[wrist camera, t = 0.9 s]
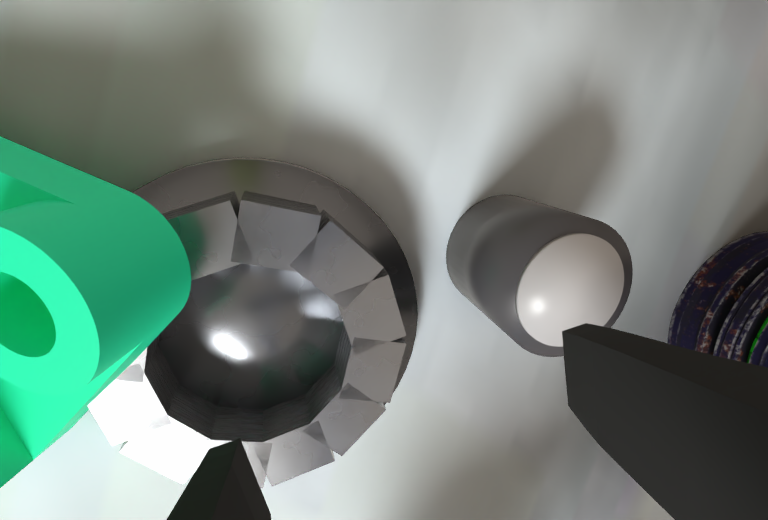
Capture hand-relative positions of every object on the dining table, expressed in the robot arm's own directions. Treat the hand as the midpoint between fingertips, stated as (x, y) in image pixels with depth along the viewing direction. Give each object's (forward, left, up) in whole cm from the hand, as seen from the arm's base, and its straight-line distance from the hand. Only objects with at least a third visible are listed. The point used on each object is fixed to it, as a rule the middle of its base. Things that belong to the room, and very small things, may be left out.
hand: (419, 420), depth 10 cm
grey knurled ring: (+2, +4, -10) cm, 10 cm away
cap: (-4, -5, -10) cm, 12 cm away
